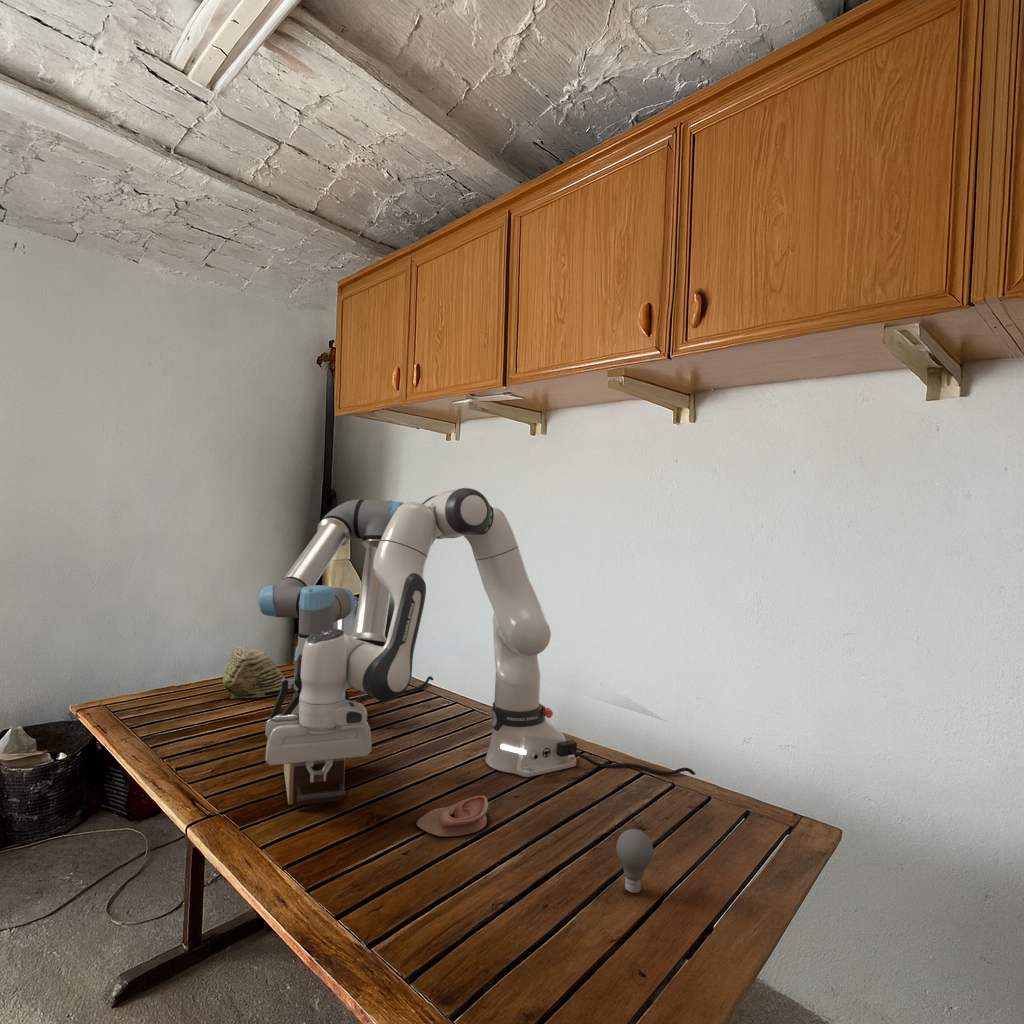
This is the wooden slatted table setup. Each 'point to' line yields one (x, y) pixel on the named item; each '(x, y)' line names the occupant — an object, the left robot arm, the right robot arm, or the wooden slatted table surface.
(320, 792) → the drawer
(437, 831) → the anatomical model
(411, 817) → the wooden slatted table surface
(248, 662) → the fossil
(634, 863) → the light bulb
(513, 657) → the right robot arm
